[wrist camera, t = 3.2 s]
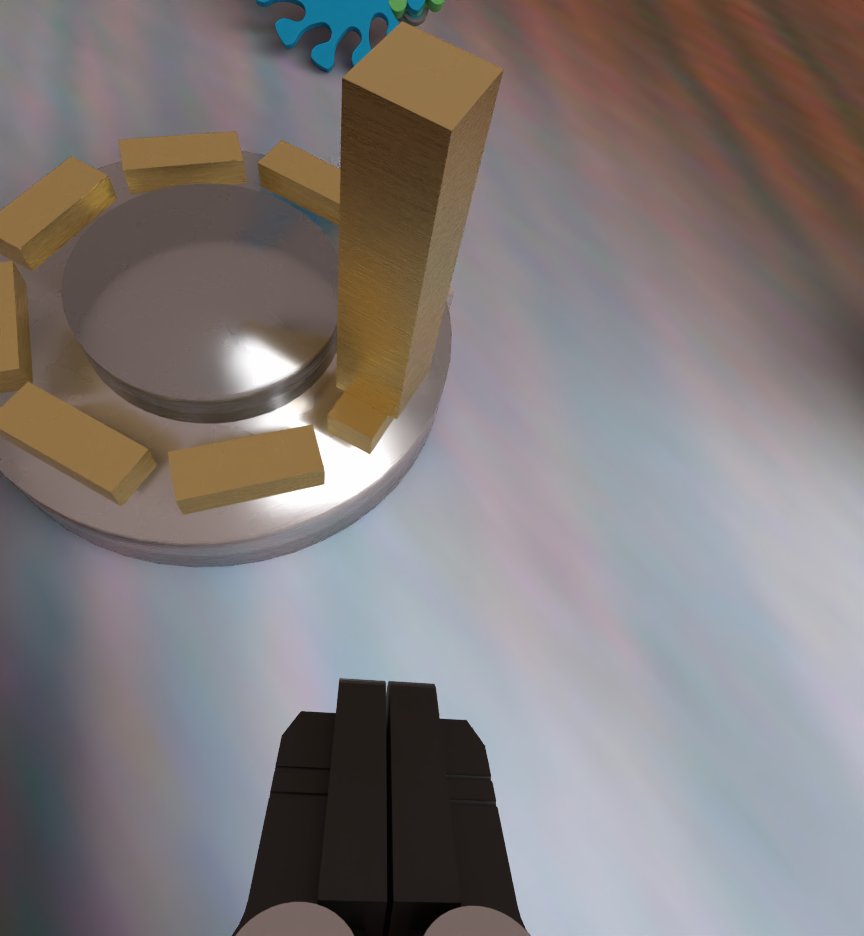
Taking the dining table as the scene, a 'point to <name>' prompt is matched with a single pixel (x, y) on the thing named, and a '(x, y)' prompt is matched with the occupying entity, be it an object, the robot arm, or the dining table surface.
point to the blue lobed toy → (348, 22)
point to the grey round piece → (205, 366)
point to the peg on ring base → (359, 275)
